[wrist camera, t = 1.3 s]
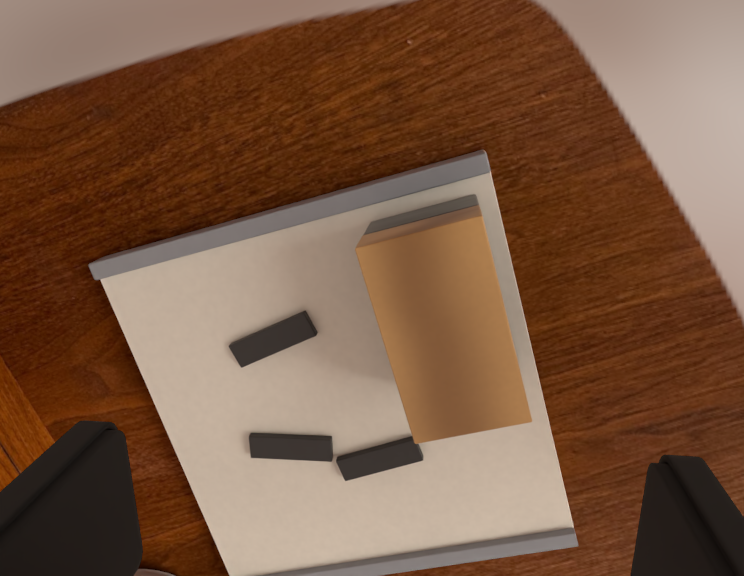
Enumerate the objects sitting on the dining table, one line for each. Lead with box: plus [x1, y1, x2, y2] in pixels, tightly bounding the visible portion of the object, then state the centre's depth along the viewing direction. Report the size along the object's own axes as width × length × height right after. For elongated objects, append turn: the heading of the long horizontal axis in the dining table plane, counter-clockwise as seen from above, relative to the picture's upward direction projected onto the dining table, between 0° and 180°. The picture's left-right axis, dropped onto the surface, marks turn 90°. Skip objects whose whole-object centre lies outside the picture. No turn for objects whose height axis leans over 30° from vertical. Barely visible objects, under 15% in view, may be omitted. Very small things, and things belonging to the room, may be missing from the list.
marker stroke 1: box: [229, 310, 318, 368], centre depth 27 cm, size 4×1×1 cm, turn 117°
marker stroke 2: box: [249, 433, 333, 462], centre depth 29 cm, size 4×1×1 cm, turn 92°
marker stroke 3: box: [336, 436, 423, 481], centre depth 28 cm, size 4×1×1 cm, turn 112°
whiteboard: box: [88, 150, 578, 576], centre depth 28 cm, size 18×19×1 cm
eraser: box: [355, 194, 532, 444], centre depth 23 cm, size 4×8×4 cm, turn 16°
